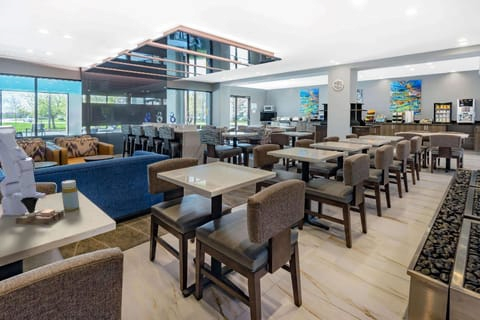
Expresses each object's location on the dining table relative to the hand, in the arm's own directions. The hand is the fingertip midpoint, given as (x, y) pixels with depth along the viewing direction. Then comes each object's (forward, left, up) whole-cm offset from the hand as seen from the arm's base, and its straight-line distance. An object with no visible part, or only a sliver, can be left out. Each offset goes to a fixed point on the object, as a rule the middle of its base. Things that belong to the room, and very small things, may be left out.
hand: (31, 212), depth 133 cm
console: (+4, 0, -4) cm, 5 cm away
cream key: (0, 0, -3) cm, 3 cm away
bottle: (+10, +14, -4) cm, 18 cm away
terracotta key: (+8, 0, -2) cm, 8 cm away
